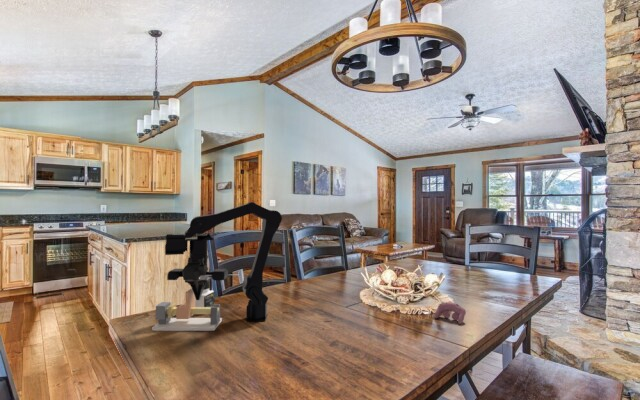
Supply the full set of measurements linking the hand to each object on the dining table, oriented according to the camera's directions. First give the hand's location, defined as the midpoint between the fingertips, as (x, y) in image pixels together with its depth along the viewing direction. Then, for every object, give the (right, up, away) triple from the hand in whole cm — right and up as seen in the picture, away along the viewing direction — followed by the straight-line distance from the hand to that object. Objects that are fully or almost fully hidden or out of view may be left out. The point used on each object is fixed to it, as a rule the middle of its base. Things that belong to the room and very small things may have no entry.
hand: (198, 299), depth 112 cm
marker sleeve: (-4, -5, 0) cm, 7 cm away
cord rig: (-3, -9, 0) cm, 9 cm away
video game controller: (+88, -10, +7) cm, 89 cm away
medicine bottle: (-4, -9, +15) cm, 18 cm away
